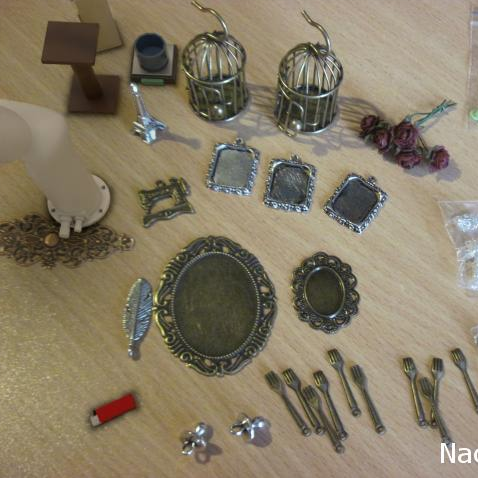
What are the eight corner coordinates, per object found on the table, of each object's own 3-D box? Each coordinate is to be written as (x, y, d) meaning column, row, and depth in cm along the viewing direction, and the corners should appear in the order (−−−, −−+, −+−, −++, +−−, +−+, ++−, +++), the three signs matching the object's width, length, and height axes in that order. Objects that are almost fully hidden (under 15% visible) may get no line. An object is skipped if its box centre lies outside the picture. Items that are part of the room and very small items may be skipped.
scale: (174, 86, 131) (173, 79, 128) (131, 85, 130) (129, 78, 127) (177, 49, 135) (176, 42, 132) (135, 48, 134) (133, 40, 131)
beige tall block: (82, 29, 134) (52, -44, 114) (112, 21, 136) (88, -52, 116) (92, 54, 132) (63, -16, 112) (122, 45, 133) (99, -24, 114)
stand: (114, 114, 126) (93, 62, 110) (69, 112, 125) (40, 60, 109) (119, 78, 130) (98, 23, 113) (74, 76, 129) (47, 20, 112)
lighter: (135, 406, 103) (93, 426, 101) (136, 407, 104) (94, 427, 102) (130, 392, 104) (87, 412, 102) (131, 393, 105) (89, 412, 103)
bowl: (167, 71, 129) (164, 58, 125) (136, 69, 128) (132, 56, 124) (169, 47, 132) (166, 33, 127) (139, 45, 131) (135, 31, 127)
